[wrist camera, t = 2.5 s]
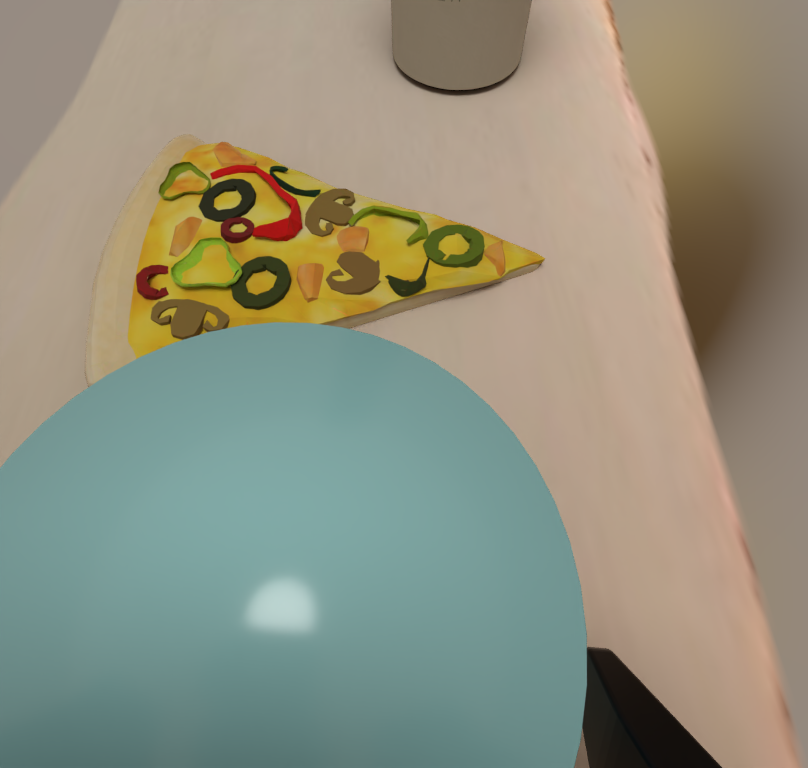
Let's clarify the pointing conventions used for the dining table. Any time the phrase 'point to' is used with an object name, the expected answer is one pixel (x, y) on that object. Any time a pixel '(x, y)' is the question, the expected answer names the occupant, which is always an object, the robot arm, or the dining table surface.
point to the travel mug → (458, 40)
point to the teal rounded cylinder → (284, 568)
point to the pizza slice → (268, 254)
